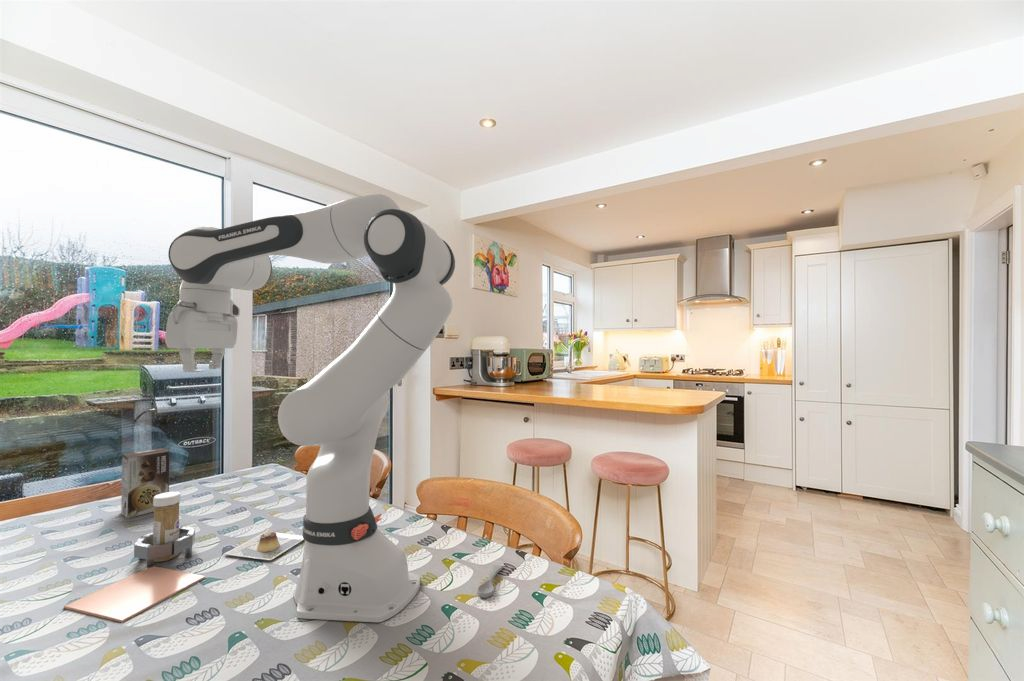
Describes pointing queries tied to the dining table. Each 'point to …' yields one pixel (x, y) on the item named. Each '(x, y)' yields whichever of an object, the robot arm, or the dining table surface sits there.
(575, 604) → the dining table surface
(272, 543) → the dessert
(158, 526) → the sprinkles bottle
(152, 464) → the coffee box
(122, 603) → the copper sheet
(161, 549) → the ring stand
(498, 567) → the spoon
